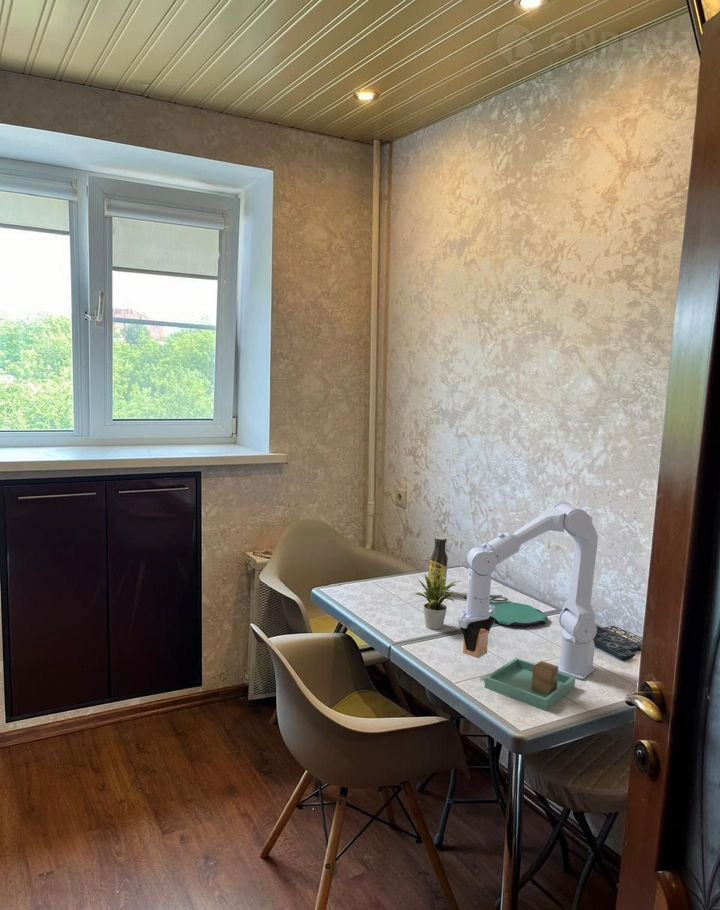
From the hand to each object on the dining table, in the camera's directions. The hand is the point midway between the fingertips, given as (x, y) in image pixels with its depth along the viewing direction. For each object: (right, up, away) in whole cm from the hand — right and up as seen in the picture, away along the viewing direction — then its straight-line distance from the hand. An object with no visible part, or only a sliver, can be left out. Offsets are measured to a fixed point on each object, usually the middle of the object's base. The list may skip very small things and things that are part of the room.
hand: (475, 647), depth 167 cm
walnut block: (+15, -8, -8) cm, 19 cm away
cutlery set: (+18, -3, +47) cm, 50 cm away
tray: (+12, -8, -6) cm, 16 cm away
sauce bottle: (-3, +1, +62) cm, 62 cm away
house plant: (-7, -3, +30) cm, 31 cm away
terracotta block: (0, -2, 0) cm, 2 cm away
